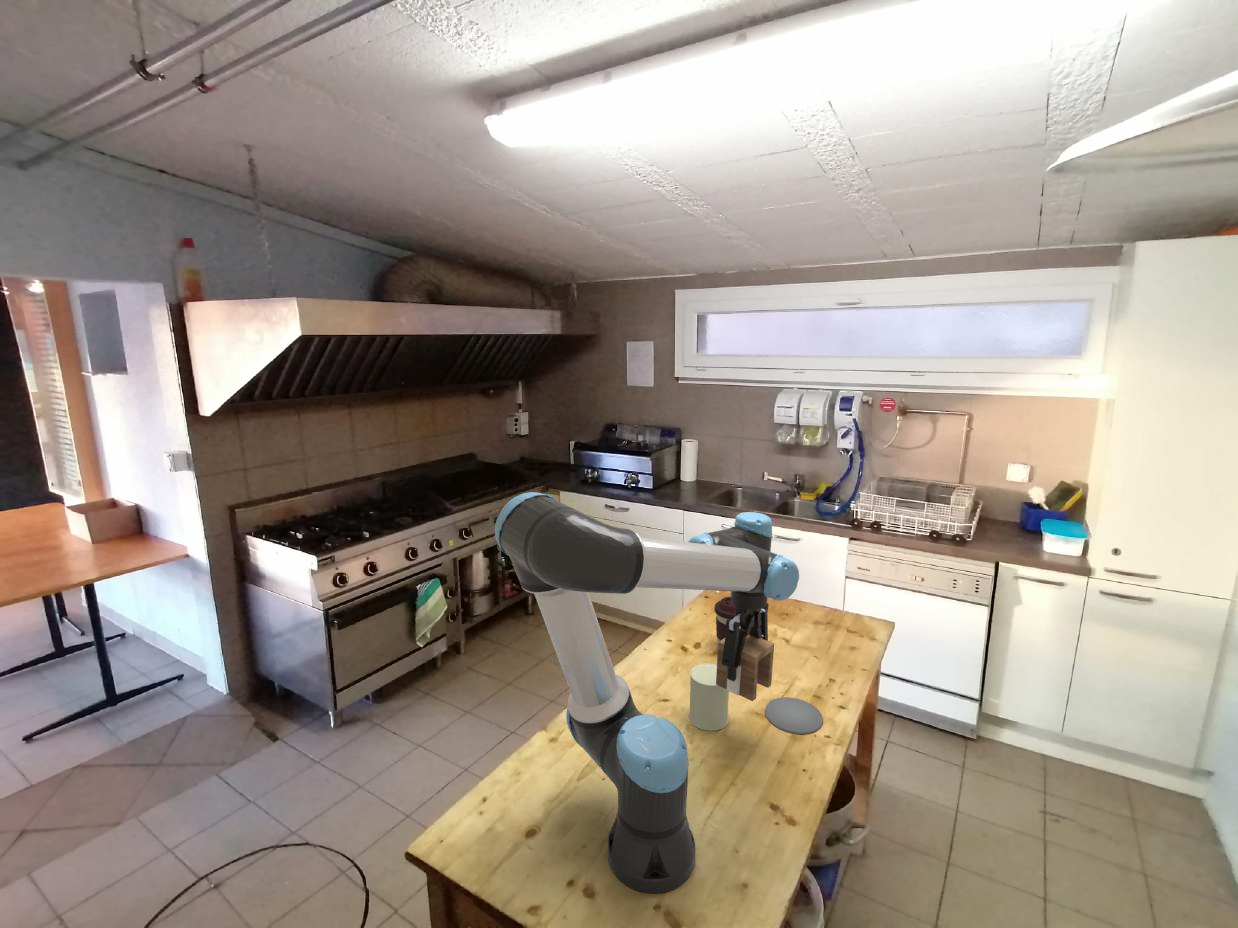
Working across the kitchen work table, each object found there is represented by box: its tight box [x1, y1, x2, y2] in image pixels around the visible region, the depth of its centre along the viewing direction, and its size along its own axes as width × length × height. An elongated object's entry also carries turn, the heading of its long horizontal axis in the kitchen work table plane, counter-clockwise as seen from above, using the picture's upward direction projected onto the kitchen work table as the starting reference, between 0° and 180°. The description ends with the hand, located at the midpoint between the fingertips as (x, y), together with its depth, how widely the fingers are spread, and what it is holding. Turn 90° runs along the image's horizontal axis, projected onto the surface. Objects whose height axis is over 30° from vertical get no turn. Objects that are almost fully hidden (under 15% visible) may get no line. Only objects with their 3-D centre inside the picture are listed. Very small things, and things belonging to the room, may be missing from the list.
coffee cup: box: [714, 596, 745, 643], centre depth 167 cm, size 10×10×15 cm
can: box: [688, 663, 730, 732], centre depth 137 cm, size 9×9×12 cm
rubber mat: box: [764, 696, 824, 735], centre depth 139 cm, size 13×13×1 cm
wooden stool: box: [716, 635, 775, 702], centre depth 128 cm, size 8×9×10 cm
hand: (743, 683), depth 129 cm, fingers closed on wooden stool, 8 cm apart
